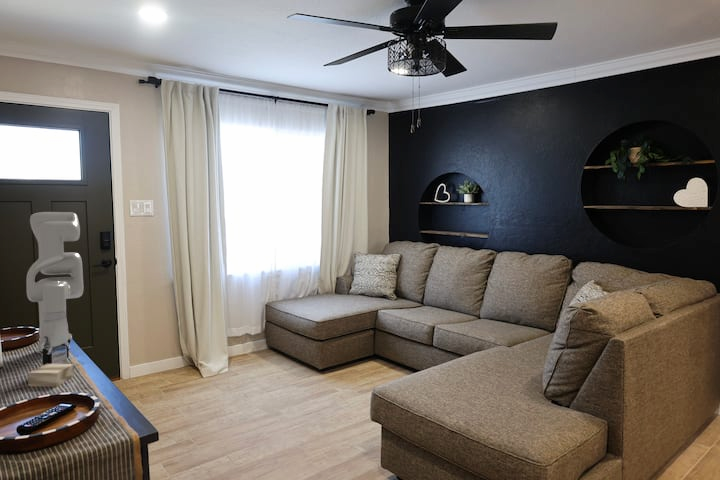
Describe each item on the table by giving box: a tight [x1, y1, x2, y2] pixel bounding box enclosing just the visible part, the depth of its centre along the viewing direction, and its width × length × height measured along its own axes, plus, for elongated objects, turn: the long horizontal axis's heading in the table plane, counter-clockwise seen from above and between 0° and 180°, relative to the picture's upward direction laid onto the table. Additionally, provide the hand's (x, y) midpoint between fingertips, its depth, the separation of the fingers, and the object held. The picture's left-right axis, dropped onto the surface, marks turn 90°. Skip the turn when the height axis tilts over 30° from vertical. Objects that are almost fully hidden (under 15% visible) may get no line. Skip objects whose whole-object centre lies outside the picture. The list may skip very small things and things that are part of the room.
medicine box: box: [41, 346, 68, 366], centre depth 182 cm, size 8×4×9 cm, turn 174°
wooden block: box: [27, 363, 75, 388], centre depth 171 cm, size 10×10×5 cm
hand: (56, 360), depth 182 cm, fingers open, 8 cm apart
